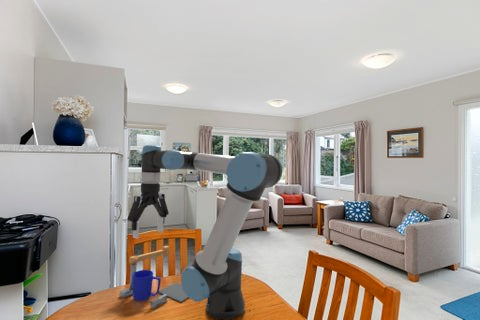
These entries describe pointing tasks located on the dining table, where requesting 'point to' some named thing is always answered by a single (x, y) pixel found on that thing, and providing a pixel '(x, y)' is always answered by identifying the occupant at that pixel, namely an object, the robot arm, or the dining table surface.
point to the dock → (129, 290)
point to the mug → (143, 284)
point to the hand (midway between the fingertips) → (148, 235)
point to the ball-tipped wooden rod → (149, 255)
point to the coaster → (175, 292)
